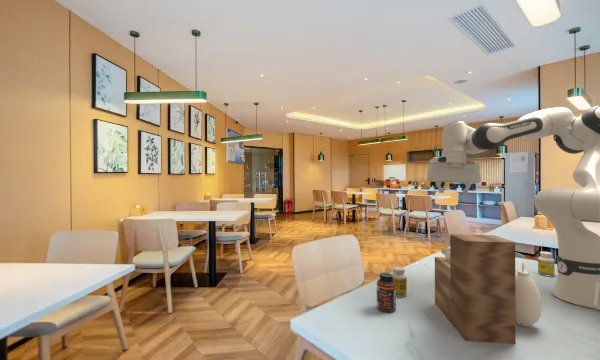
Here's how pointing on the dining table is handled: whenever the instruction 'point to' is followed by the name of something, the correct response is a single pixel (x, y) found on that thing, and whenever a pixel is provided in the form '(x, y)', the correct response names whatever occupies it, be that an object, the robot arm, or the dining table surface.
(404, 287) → the supplement bottle
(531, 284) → the sauce bottle
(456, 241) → the stepped stand
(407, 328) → the dining table surface
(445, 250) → the lever cap
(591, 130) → the robot arm
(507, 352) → the dining table surface
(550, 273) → the supplement bottle
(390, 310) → the supplement bottle
